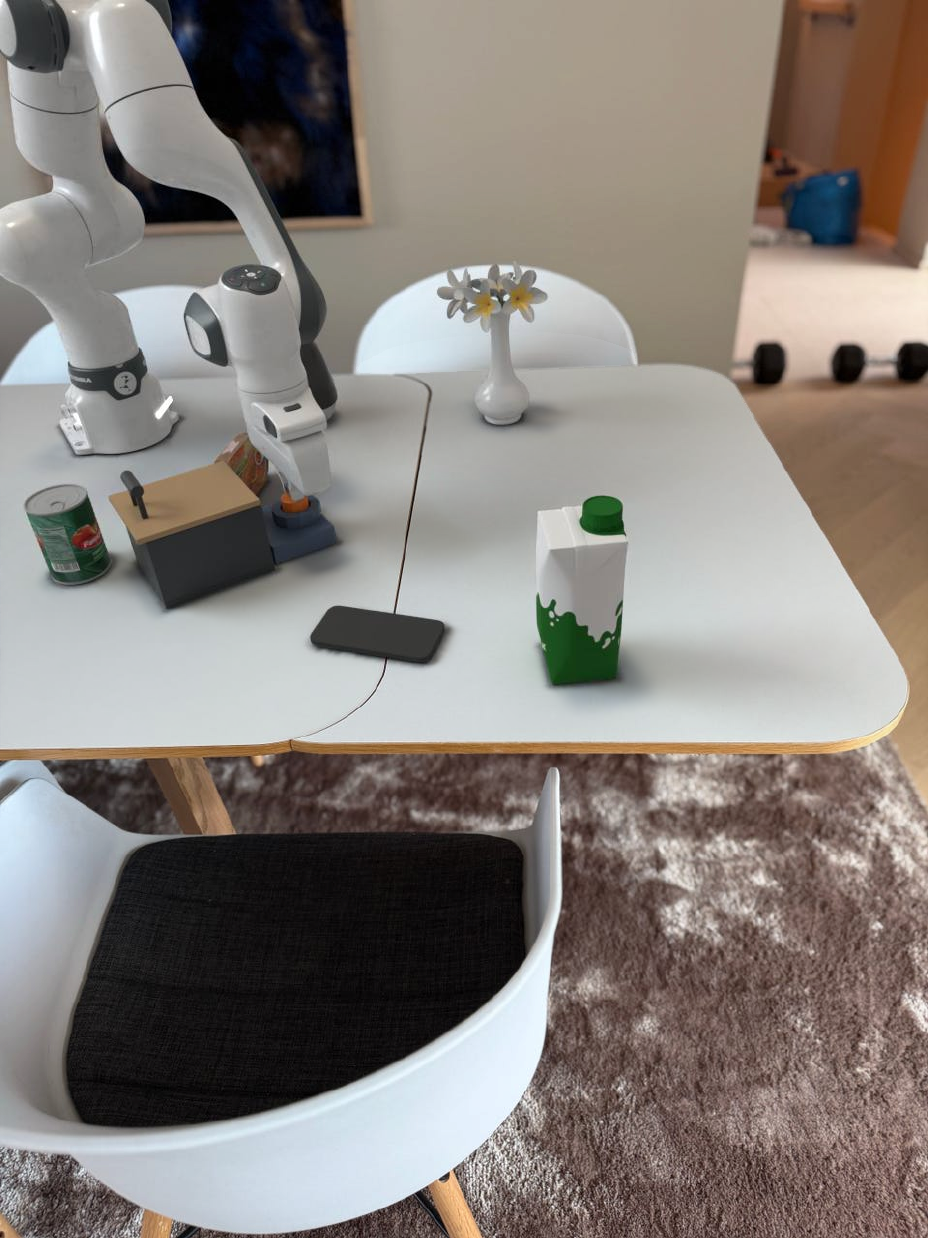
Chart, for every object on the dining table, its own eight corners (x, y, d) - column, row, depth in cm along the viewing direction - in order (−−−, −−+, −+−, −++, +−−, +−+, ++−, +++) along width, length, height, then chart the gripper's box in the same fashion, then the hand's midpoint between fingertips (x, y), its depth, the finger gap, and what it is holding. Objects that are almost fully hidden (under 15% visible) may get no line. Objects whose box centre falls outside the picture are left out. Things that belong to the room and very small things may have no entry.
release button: (289, 517, 124) (286, 505, 123) (278, 506, 126) (276, 495, 125) (313, 508, 125) (311, 497, 124) (302, 498, 128) (300, 487, 127)
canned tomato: (50, 562, 126) (22, 492, 119) (108, 547, 128) (84, 477, 121) (53, 591, 120) (24, 519, 113) (114, 575, 122) (89, 504, 116)
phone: (427, 659, 103) (306, 640, 107) (427, 665, 103) (307, 645, 107) (447, 620, 109) (331, 603, 112) (447, 626, 109) (332, 609, 113)
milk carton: (626, 683, 99) (636, 525, 87) (543, 691, 99) (542, 534, 87) (609, 634, 106) (616, 481, 94) (532, 641, 106) (529, 490, 94)
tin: (236, 522, 132) (223, 470, 126) (216, 521, 132) (202, 469, 127) (273, 472, 143) (263, 422, 138) (255, 471, 144) (244, 422, 139)
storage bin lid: (138, 545, 109) (125, 506, 106) (109, 501, 118) (97, 463, 115) (260, 504, 115) (252, 466, 112) (224, 465, 124) (215, 429, 121)
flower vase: (467, 395, 163) (458, 249, 147) (563, 410, 155) (564, 258, 140) (432, 425, 154) (418, 273, 138) (532, 442, 146) (530, 284, 131)
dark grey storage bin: (166, 609, 115) (145, 543, 109) (137, 562, 124) (116, 499, 119) (275, 570, 121) (261, 505, 115) (239, 528, 130) (224, 465, 124)
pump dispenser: (325, 402, 164) (311, 318, 154) (350, 421, 156) (338, 334, 147) (272, 417, 160) (255, 332, 150) (296, 438, 152) (279, 350, 143)
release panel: (276, 564, 122) (270, 536, 119) (246, 530, 130) (240, 502, 127) (338, 542, 126) (333, 514, 123) (306, 509, 133) (301, 482, 131)
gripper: (224, 382, 122) (245, 474, 131) (283, 435, 108) (303, 534, 116) (268, 370, 125) (286, 461, 133) (331, 420, 111) (347, 519, 119)
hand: (294, 496), depth 125 cm, fingers closed, pressing on release button
